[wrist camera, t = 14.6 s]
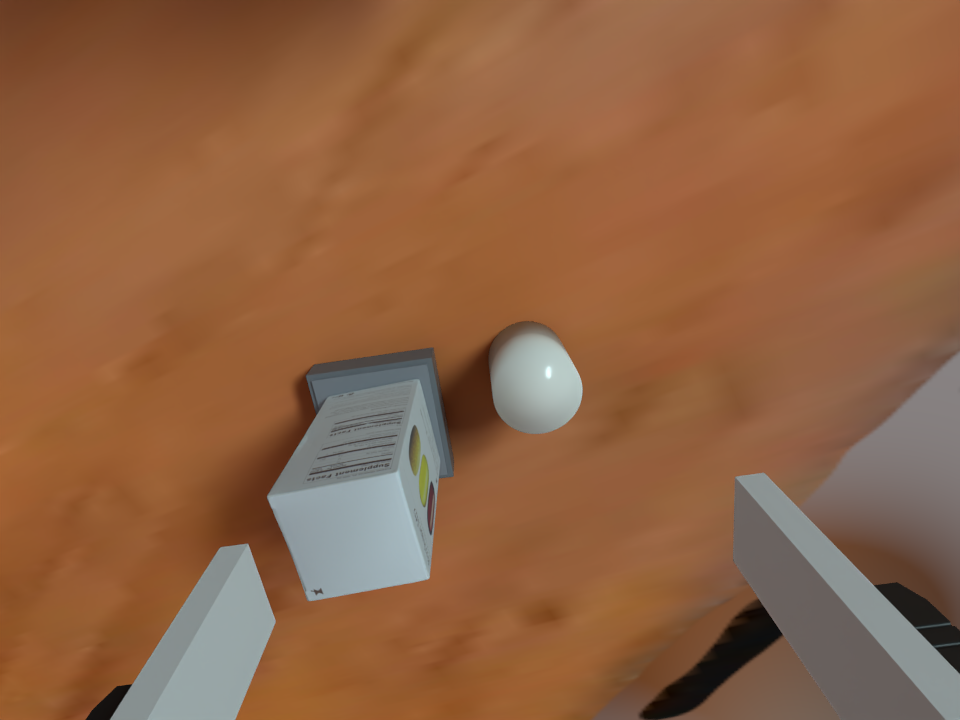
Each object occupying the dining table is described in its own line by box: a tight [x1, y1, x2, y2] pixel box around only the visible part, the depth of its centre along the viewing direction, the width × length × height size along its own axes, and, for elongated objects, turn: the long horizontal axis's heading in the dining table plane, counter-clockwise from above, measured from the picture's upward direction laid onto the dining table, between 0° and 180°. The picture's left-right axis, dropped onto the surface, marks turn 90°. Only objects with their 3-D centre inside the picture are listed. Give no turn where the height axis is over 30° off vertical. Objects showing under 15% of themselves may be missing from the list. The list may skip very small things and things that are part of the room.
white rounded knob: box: [488, 321, 582, 434], centre depth 50 cm, size 8×8×9 cm
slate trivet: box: [306, 348, 454, 478], centre depth 54 cm, size 13×12×3 cm
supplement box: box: [267, 379, 440, 601], centre depth 45 cm, size 10×9×17 cm
